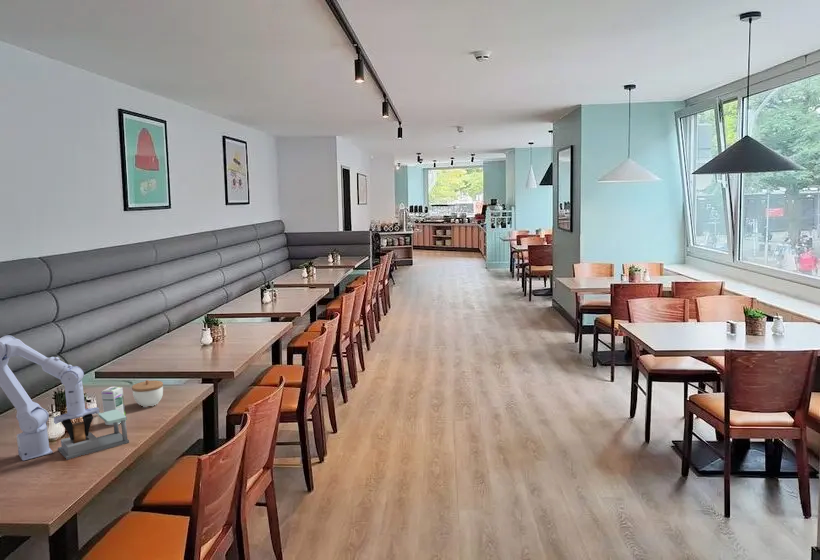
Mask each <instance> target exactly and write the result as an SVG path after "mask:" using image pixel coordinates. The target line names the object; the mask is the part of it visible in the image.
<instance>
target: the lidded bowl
mask: <svg viewBox="0 0 820 560" xmlns="http://www.w3.org/2000/svg"><path fill="white" fill-rule="evenodd" d="M131 390H132V397H133V399H134V401H135V402H136V404H138V405H139V406H140V405H141V406H143V407H142V408H148V407H147V406H152V407H155V406H157V405H158V404H159V402H160V401H161V400H162V398H163V395H164V383H163V381H160V380H149V379H146V380H145V381H141V382H140V381H139V382H138V383H135V384H133V385H132V386H131ZM156 404H157V405H156ZM154 405H155V406H154ZM141 406H140V407H141Z"/></svg>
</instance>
